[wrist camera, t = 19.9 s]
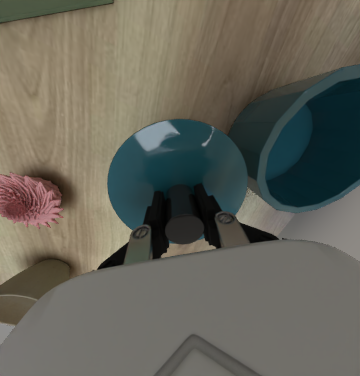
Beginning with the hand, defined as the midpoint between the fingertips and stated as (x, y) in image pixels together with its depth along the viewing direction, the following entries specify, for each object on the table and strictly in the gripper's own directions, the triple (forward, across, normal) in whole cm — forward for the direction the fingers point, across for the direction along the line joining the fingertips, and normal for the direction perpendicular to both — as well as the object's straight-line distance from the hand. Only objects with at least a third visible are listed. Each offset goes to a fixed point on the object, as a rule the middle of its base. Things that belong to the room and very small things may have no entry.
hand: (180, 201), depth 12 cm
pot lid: (+1, 0, 0) cm, 1 cm away
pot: (+8, -14, -2) cm, 16 cm away
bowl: (+8, +27, +15) cm, 32 cm away
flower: (+8, +18, -1) cm, 20 cm away
